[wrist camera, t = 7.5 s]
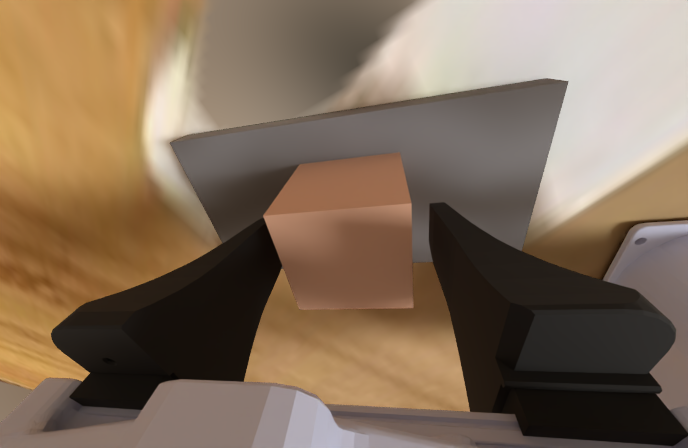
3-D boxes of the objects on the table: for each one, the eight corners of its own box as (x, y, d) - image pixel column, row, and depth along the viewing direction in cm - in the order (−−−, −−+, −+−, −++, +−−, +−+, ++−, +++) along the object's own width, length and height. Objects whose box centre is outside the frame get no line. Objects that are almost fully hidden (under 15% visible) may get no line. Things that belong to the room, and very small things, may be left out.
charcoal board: (508, 241, 16) (519, 257, 15) (246, 256, 19) (237, 270, 18) (547, 78, 11) (568, 81, 10) (187, 135, 14) (169, 142, 13)
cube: (403, 236, 15) (413, 308, 11) (320, 242, 16) (299, 309, 11) (399, 152, 12) (411, 203, 8) (299, 164, 13) (263, 215, 9)
